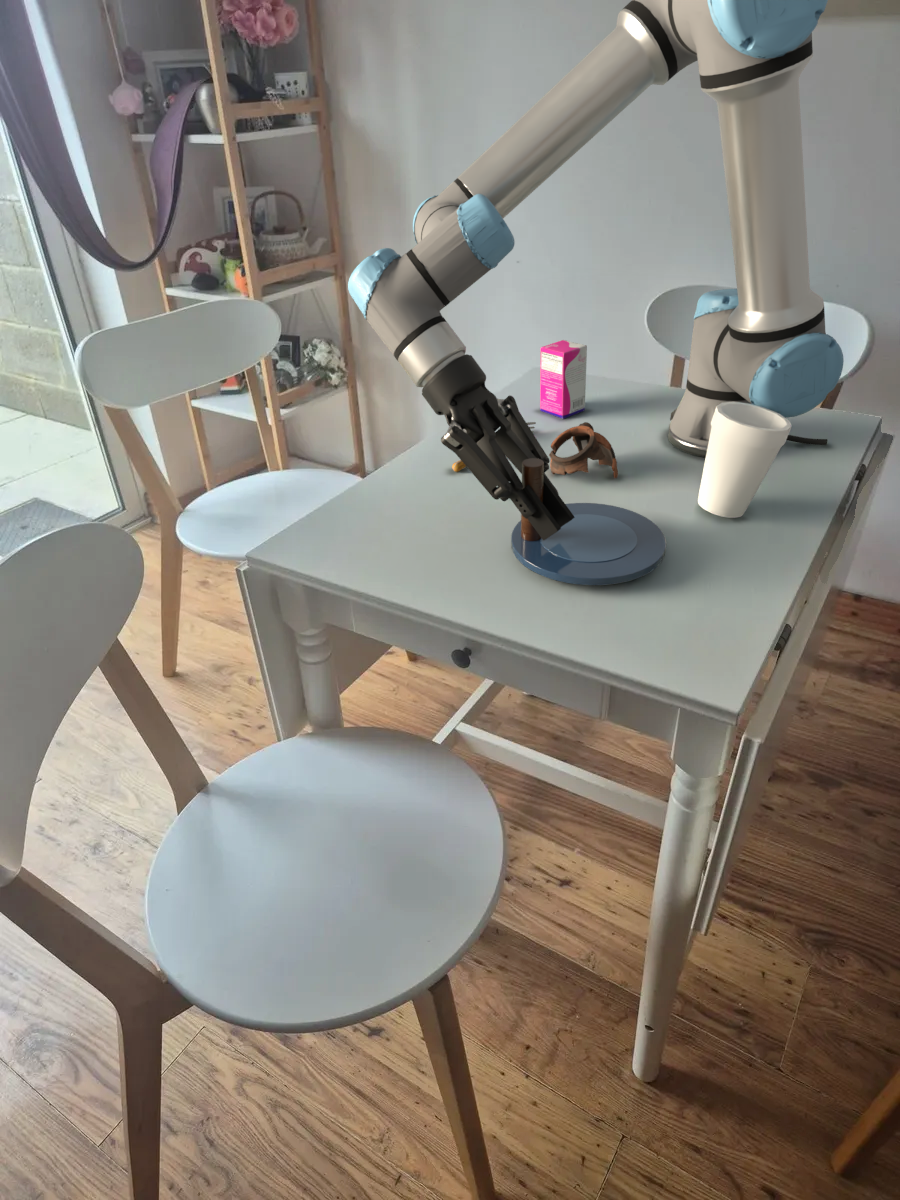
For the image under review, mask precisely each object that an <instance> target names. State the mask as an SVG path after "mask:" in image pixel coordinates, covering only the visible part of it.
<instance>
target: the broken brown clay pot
mask: <svg viewBox="0 0 900 1200" xmlns="http://www.w3.org/2000/svg"><path fill="white" fill-rule="evenodd" d="M571 439H572V441H573V443H574V445H575V447H576V448H577V451H578V452H577V453H575V454H573V455H570V456H567V457H562V456H557V455H556V453H557V452H558V451H559V449H560V447H562V445H564V444H565V443H566V442H567V441H569V440H571ZM550 448H551V451H550V452H549V454H548V457H549V459H550V462H549V469H550V472H551V473H552V475H556V474H558V475H561V476H567V474H568V475H571V474H575V473H578V472H583V473H586V474H587V473H588V474H589V473H590V471H589V465H588V463H589V460H592V461H598V462H597V463H598V465H599V466H609V467H611V470H612V472H613V478H614V479H617V478H618V476H619V470H618V462H617V458H616V455H615V454H616V453H615V451H614V448H613V446H612V444H611V443H610V441H609V440H608V439H607V438H606V437H605V436H604V435H603V434H601V433H599V432H597V431H595V430H594V427H593V425H592V424H591V423H589V422H587V421H584V422H583V423H579V425H576V426H573V427H570V428H568V429H566V430H564V431H563V432H561V433H560V434H558V435H557V437H555V439H554V440H553V441H552V443H551V444H550Z"/></svg>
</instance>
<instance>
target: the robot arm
mask: <svg viewBox="0 0 900 1200" xmlns="http://www.w3.org/2000/svg"><path fill="white" fill-rule="evenodd" d="M828 1H829V0H630V1H629V2H628V3H627V4H626V5H625V6H624V7H623V8H622V9H621V10H620V11H619V12H618V14H617V19H616V26H615V28H614V29H613V30H612V31H611V32H610V33H608V35H606V37H604V39H602V40H601V41H600V42H599V43H598V44H597V45H596V46H595V47H594V48H593V49H592V50H590V52H589V53H587V55H585V56H584V57H583V58H582V59H581V60H580V61H579V62H578V63H576V65H575V66H574V67H572V69H570V70H569V72H567V73H566V74H565V75H563V77H562V78H561V79H560V80H559V81H558V82H557V83H556V84H555V85H553V86H552V88H551V89H549V90H548V91H547V92H546V93H544V95H543V96H542V97H541V98H540V99H538V101H537V102H536V103H534V105H533V106H531V107H530V108H529V109H528V110H527V111H526V112H525V113H524V114H523V115H521V116H520V118H519V119H517V121H515V123H514V124H512V125H511V126H510V127H509V128H508V129H506V131H504V133H503V134H501V136H500V137H499V138H497V139H496V140H495V141H494V142H493V143H492V144H491V145H490V146H489V147H488V148H487V149H486V150H485V151H484V152H483V153H482V154H481V155H479V156H478V157H477V158H476V159H475V160H474V161H472V163H471V164H470V165H469V166H468V167H466V169H465V170H463V171H462V172H461V173H460V174H459V175H458V176H457V177H456V179H454V180H453V181H452V182H451V183H450V184H448V186H447V187H446V188H445V189H443V190H442V191H441V192H440V193H439V194H437V195H433V196H430V197H427V198H426V199H425V200H422V202H421V203H420V204H419V205H418V206H417V209H416V210H415V212H414V215H413V220H412V232H413V236H414V241H415V243H416V245H415V246H413V247H412V248H411V249H409V250H408V251H407V252H406V253H404V254H403V255H400V254H399V253H398V252H396V251H395V250H394V249H393V248H390V247H383V248H380V249H378V250H376V251H374V252H373V254H371V255H368V256H367V257H365V258H364V259H363V260H362V261H360V263H359V264H358V265H356V267H355V268H354V269H353V271H352V272H351V274H350V276H349V279H348V282H347V290H348V293H349V295H350V297H351V299H352V300H353V301H354V303H355V304H356V306H357V307H358V309H359V310H360V312H361V314H362V315H363V318H364V319H365V320H366V321H367V323H368V324H369V326H370V327H371V328H372V329H373V331H374V333H376V335H377V336H378V338H379V339H380V340H381V341H382V343H383V344H384V345H385V346H386V348H387V349H388V350H389V352H390V353H391V355H392V356H393V357H394V358H395V360H396V361H397V362H398V363H399V365H400V366H401V367H402V369H403V370H404V371H405V373H406V374H407V375H408V377H409V379H410V380H411V381H412V382H413V384H414V386H416V388H422V389H421V395H422V398H423V399H425V401H426V402H427V404H428V405H429V406H430V408H431V409H432V411H433V412H434V413H435V414H436V415H437V416H444V417H445V420H446V424H447V425H448V429H447V431H446V432H445V434H443V435H442V436H441V437H440V442H441V444H442V445H443V446H444V447H446V448H447V449H449V450H450V451H452V452H453V453H454V454H455V455H456V456H457V458H458V459H459V460H461V461H462V462H463V463H464V464H465V465H466V466H467V467H466V468H467V469H468V470H469V471H470V472H471V474H472V475H473V476H474V477H475V478H476V480H477V481H478V482H479V483H480V484H481V485H482V487H483V488H484V489H485V490H486V491H487V493H488V494H489V495H490V496H491V498H493V499H494V500H497V501H498V500H501V501H503V502H507V501H508V500H510V501H511V502H512V503H513V505H514V506H515V507H516V509H517V510H518V511H519V513H520V515H521V514H522V515H523V517H525V518H526V519H528V520H529V522H530V523H531V524H532V526H533V527H534V528H535V530H536V531H537V532H538V534H539V535H540V537H541V538H542V539H543V541H544V540H545V539H547V538H548V537H550V536H551V535H553V534H554V533H556V532H557V531H559V530H560V529H561V527H562V526H563V525H565V524H566V523H568V522H569V521H571V520H572V519H573V518H575V517H574V515H573V514H572V513H571V511H570V510H569V509H568V507H567V506H566V504H567V503H565V501H564V500H563V499H562V497H560V494H559V491H558V489H557V488H556V486H554V484H553V482H552V481H551V479H550V478H549V477H548V475H547V474H546V472H547V471H549V470H550V462H551V460H550V457H549V455H548V454H547V453H546V452H545V450H544V448H543V447H542V445H541V443H540V442H539V440H538V439H537V437H536V436H535V434H534V432H533V433H532V431H533V430H532V429H530V428H529V427H530V425H527V423H528V422H526V420H525V418H524V417H523V415H522V413H521V412H520V410H519V407H518V403H517V401H516V399H515V397H514V396H512V395H508V396H507V397H506V398H504V399H503V398H497V397H496V394H495V393H494V392H492V391H490V390H489V389H488V388H487V387H486V381H487V374H486V373H485V372H484V370H483V369H482V368H481V367H480V364H479V363H478V362H477V361H476V360H475V358H474V357H473V356H472V355H471V354H466V351H467V346H466V345H465V344H464V342H463V341H462V340H461V338H460V337H459V336H458V334H457V333H456V332H455V330H454V329H453V328H452V326H451V325H450V324H449V322H448V321H447V320H446V319H445V317H444V316H443V315H442V313H441V310H443V309H444V308H445V307H447V306H449V304H450V303H452V302H453V301H454V300H456V299H457V298H458V297H459V296H460V295H462V294H463V293H464V292H465V291H467V290H468V289H469V288H471V286H472V285H474V284H475V283H476V282H477V281H479V280H480V279H481V278H482V277H483V276H485V275H486V274H488V272H490V271H491V270H493V269H495V268H497V266H498V265H499V263H500V262H501V261H503V260H504V258H505V257H506V256H508V255H509V254H510V253H511V252H512V251H513V250H514V247H515V244H516V241H515V237H514V235H513V233H512V230H511V229H510V227H509V226H508V224H507V223H506V221H505V220H504V218H506V217H507V216H508V215H509V214H510V213H511V212H513V210H514V209H516V208H517V207H518V206H519V205H520V204H521V203H522V202H523V201H525V200H526V199H527V198H528V197H529V196H530V195H531V194H532V193H533V192H534V191H536V190H537V189H538V188H539V187H540V186H541V185H542V184H543V183H544V182H545V181H547V180H548V179H549V178H550V177H551V176H552V175H553V174H554V173H555V172H556V171H558V169H560V168H561V167H563V165H565V164H566V163H567V162H568V161H569V160H570V159H571V158H572V157H573V156H575V154H577V152H578V151H580V150H581V149H582V148H583V147H584V146H586V144H588V143H589V142H590V141H591V140H592V139H593V138H594V137H595V136H596V135H598V134H599V132H601V131H602V130H603V129H604V128H605V127H606V126H608V124H610V122H612V121H613V120H614V119H615V118H616V117H618V116H619V115H620V114H621V113H622V112H623V111H624V110H625V109H626V108H628V106H630V105H631V104H632V103H633V102H634V101H635V100H636V99H637V98H638V97H640V96H641V95H642V94H643V93H644V92H645V91H646V90H647V89H648V88H649V87H651V86H653V85H655V86H664V85H665V84H667V83H668V82H669V81H670V80H671V79H672V78H674V76H675V75H677V74H678V73H679V72H681V71H682V70H684V69H685V68H686V67H688V66H690V65H692V64H693V63H695V62H697V65H698V66H697V67H698V74H699V82H700V89H701V92H703V93H704V94H705V95H707V96H708V97H710V98H711V99H713V101H714V102H715V103H716V107H717V115H718V124H719V133H720V143H721V150H722V151H721V153H722V163H723V170H724V180H725V190H726V199H727V208H728V209H727V210H728V218H729V226H730V227H729V228H730V235H731V245H732V246H731V247H732V253H733V254H732V255H733V263H734V264H733V265H734V272H735V273H734V274H735V282H736V288H724V289H723V288H722V289H716V290H709V291H706V292H704V293H703V294H701V296H700V297H699V298H698V301H697V303H696V307H695V308H696V309H695V313H694V316H693V327H692V337H691V345H690V351H689V361H688V368H687V376H686V377H687V378H686V385H685V391H684V393H683V395H682V397H681V399H680V402H679V403H678V406H677V408H675V409H674V410H673V411H672V412H670V418H669V421H670V422H669V424H668V433H667V438H668V441H669V443H670V444H671V445H672V446H673V447H675V448H676V449H678V450H679V451H682V452H683V453H687V454H689V455H692V456H696V457H701V458H706V453H707V448H708V443H709V438H710V433H711V428H712V426H711V421H712V418H713V415H714V412H715V409H716V406H718V405H719V404H721V403H723V402H740V403H749V404H753V405H756V406H760V407H764V408H767V409H769V410H772V411H774V412H777V413H779V414H781V415H782V416H784V417H785V418H787V419H788V418H794V417H799V416H801V415H805V414H806V413H808V412H810V411H812V410H814V409H815V408H816V407H818V406H819V405H820V404H821V403H823V402H824V401H825V400H826V398H827V396H828V395H829V394H830V393H831V392H832V391H833V390H835V388H836V386H837V384H838V382H839V380H840V378H841V375H842V373H843V370H844V369H843V368H844V361H845V360H844V354H843V353H844V352H843V350H842V348H841V346H840V344H839V343H838V341H837V340H836V339H835V338H834V337H833V336H831V335H830V334H829V333H828V334H827V332H826V316H825V315H826V314H825V313H826V311H825V301H824V299H823V297H822V296H821V295H819V294H818V293H816V292H815V291H813V290H812V289H811V286H810V284H811V283H810V267H809V266H810V264H809V246H808V233H807V232H808V228H807V226H808V225H807V212H806V211H807V209H806V208H807V207H806V190H805V173H804V156H803V137H802V136H803V135H802V118H801V117H802V116H801V100H800V77H801V75H802V73H803V72H804V70H805V69H806V67H807V66H808V64H809V63H810V61H811V60H812V58H813V56H814V53H813V52H814V49H813V32H814V31H815V29H816V27H818V24H819V19H820V17H821V15H822V14H823V13H824V12H825V10H826V7H827V4H828ZM786 442H792V443H798V444H803V445H812V446H827V445H828V442H829V441H828V438H812V437H803V436H797V435H793V434H788V437H787V439H786ZM529 458H537V459H541V460H542V461H543V462H544V482H543V503H542V501H541V500H540V499H539V497H538V496H537V495H536V493H535V492H534V491H533V489H532V488H531V486H530V485H527V486H526V487H524V488H523V484H522V479H520V477H519V475H518V474H517V472H516V471H515V469H516V470H517V471H518V472H519V473H520V475H522V462H523V461H524V460H525V459H529ZM512 465H513V466H514V467H515V468H514V467H513V466H512ZM522 488H523V489H522Z"/></svg>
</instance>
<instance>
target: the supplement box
mask: <svg viewBox="0 0 900 1200" xmlns="http://www.w3.org/2000/svg"><path fill="white" fill-rule="evenodd" d="M587 356H588V345H587V344H582V343H578V342H573V341H570V340H566V339H562V340H558V341H556V342H552V343H549V344H546V345H544V346H541V347H540V366H539V367H540V371H539V372H540V381H539V382H540V383H539V387H540V389H539V391H540V392H539V393H540V394H539V402H540V403H539V411H540V412H542V413H545V414H547V415H551V416H554V417H556V418H559V419H562V420H564V419H567V418H569V417H572V416H574V415H577V414H580V413H583V412H585V411H586V390H587V389H586V386H587V385H586V384H587V359H588V358H587Z"/></svg>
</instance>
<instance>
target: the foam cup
mask: <svg viewBox="0 0 900 1200" xmlns="http://www.w3.org/2000/svg"><path fill="white" fill-rule="evenodd" d="M711 426H712V428H711V433H710V438H709V443H708V448H707V453H706V457H705V460H704V464H703V470H702V474H701V480H700V484H699V491H698V495H697V496H698V498H697V503H698V506H700V507H701V508H702V509H703V510H704V511H707V512H708V513H711V514H712V515H715V516H718V517H722V518H729V519H737V518H741V517H742V516H743V515H744V514H745V512H746V511H747V510H748V508H749V506H750V504H751V503H752V501H753V499H754V497H755V495H756V493H757V491H758V490H759V488H760V487H761V484H762V483H763V480H764V479H765V477H766V475H767V473H768V472H769V470H770V468H771V467H772V464H773V462H774V461H775V459H776V457H777V455H778V454H779V452H780V451H781V448H782V446H784V445H785V444H786V442H787V441H786V439H787V437H788V435H790V432H791V429H792V422H791V421H790V420H789V419H788V418H785V417H784V416H782V415H781V414H779V413H777V412H774V411H772V410H769V409H767V408H764V407H760V406H756V405H753V404H749V403H740V402H723V403H721V404H719V405H718V406H716V409H715V412H714V415H713V418H712V421H711Z"/></svg>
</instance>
